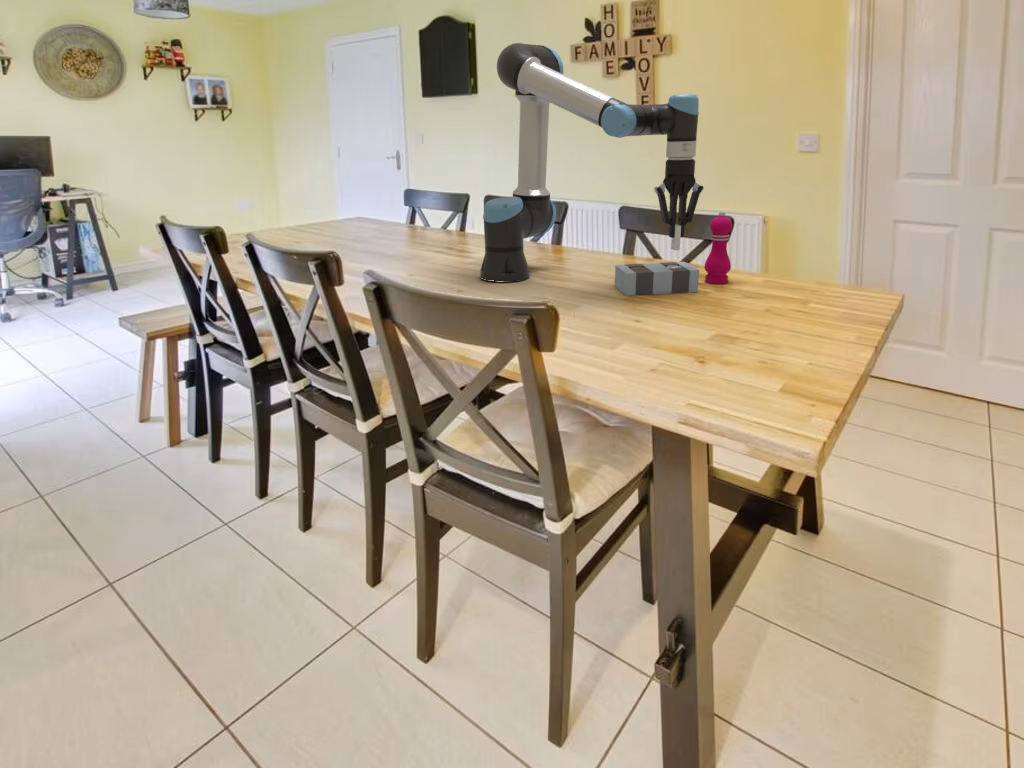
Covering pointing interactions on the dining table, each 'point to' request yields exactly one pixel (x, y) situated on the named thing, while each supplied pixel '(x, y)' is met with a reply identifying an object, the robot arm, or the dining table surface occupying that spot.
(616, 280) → the socket block
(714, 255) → the pepper mill
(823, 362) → the dining table surface
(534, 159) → the robot arm
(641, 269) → the walnut peg
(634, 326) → the dining table surface
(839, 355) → the dining table surface
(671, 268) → the grey metal peg
